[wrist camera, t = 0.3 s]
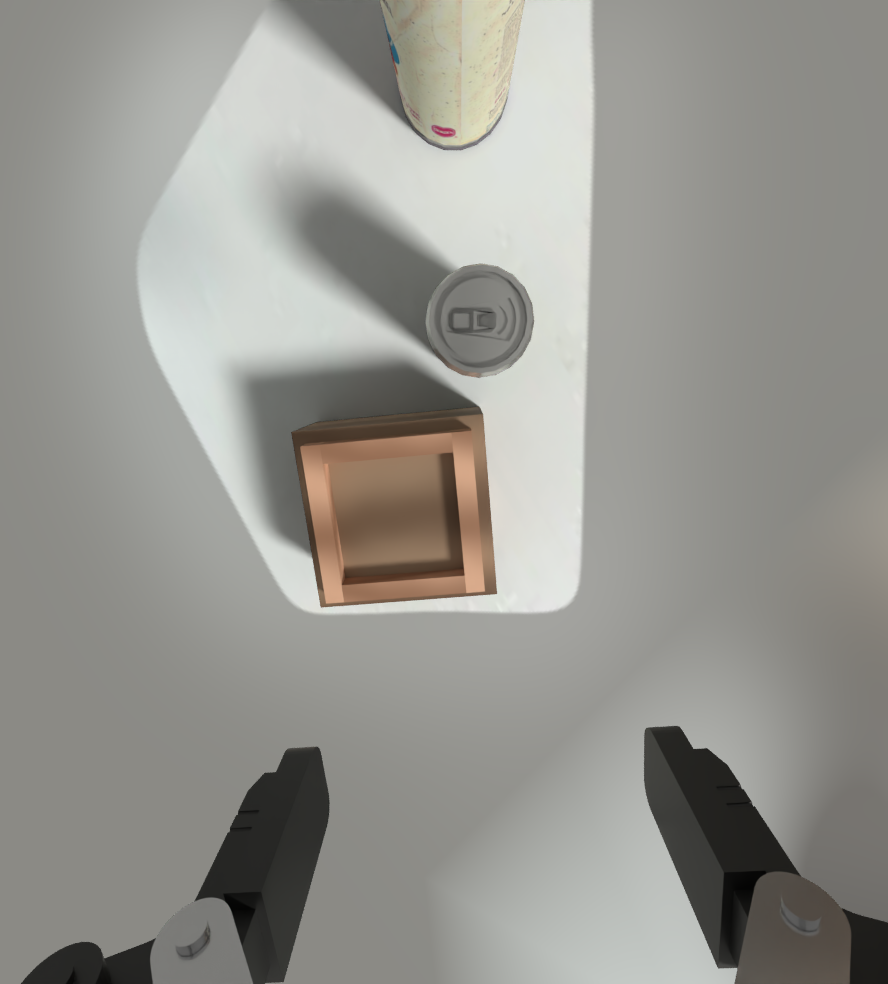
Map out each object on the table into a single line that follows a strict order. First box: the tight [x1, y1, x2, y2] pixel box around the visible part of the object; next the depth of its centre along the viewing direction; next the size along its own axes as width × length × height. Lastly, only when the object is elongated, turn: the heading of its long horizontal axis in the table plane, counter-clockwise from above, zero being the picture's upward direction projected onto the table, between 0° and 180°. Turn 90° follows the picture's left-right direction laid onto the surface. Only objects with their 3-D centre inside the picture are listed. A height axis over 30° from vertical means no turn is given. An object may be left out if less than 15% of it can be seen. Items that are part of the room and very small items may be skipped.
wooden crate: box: [291, 407, 497, 607], centre depth 35 cm, size 12×12×7 cm
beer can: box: [425, 264, 534, 378], centre depth 30 cm, size 5×5×12 cm
